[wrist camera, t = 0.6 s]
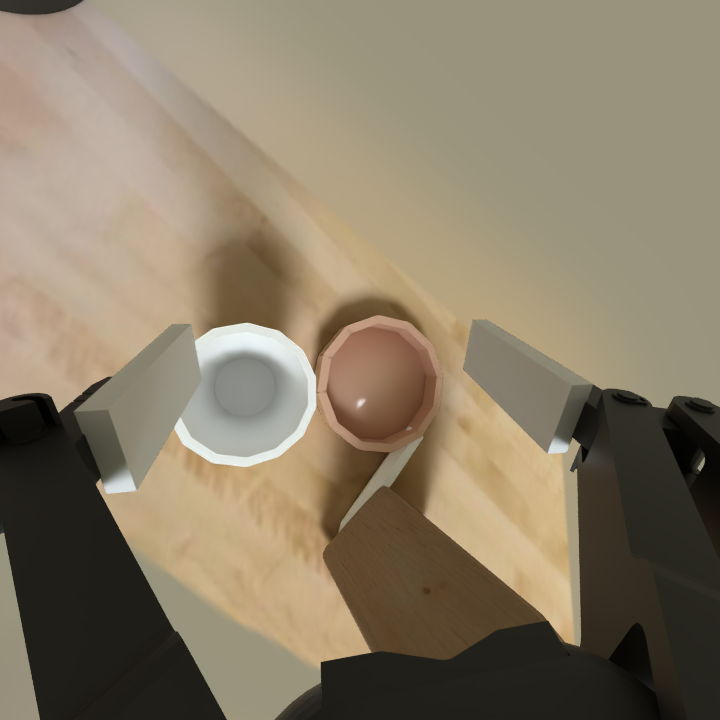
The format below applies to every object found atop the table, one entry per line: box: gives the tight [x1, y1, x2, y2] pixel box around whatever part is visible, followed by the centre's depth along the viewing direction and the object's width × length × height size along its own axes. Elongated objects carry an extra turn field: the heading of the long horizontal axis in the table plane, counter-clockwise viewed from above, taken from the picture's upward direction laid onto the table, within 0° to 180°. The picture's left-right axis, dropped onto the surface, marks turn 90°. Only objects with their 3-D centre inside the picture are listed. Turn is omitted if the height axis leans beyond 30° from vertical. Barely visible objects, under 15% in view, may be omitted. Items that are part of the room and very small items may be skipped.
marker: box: [338, 426, 424, 533], centre depth 37 cm, size 3×2×16 cm
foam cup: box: [174, 323, 316, 467], centre depth 27 cm, size 10×9×13 cm
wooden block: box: [323, 486, 564, 660], centre depth 28 cm, size 10×10×20 cm
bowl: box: [314, 315, 443, 453], centre depth 37 cm, size 15×15×3 cm
